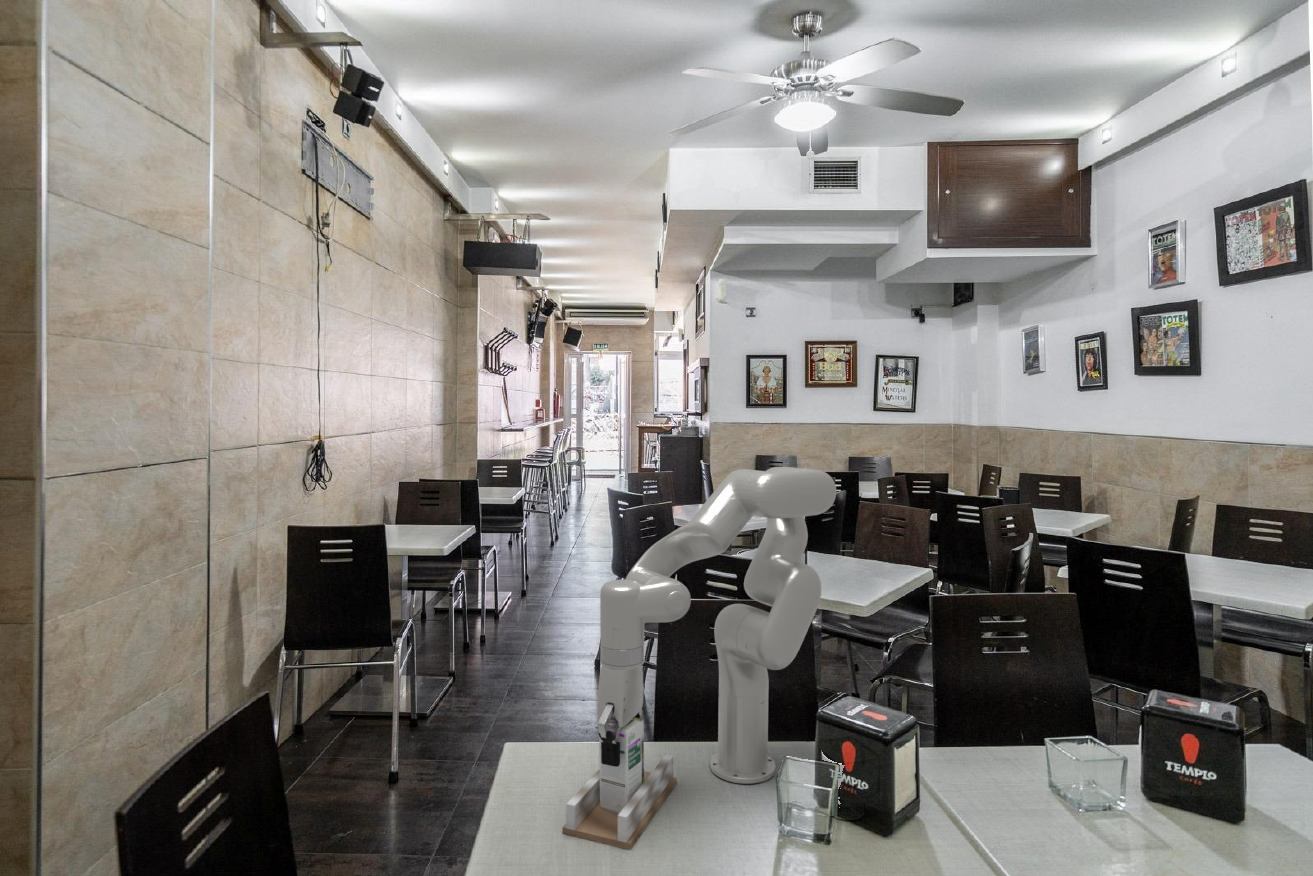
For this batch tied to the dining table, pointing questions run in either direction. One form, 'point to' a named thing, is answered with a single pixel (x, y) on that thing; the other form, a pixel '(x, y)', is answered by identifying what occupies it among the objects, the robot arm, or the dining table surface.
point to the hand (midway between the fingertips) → (622, 751)
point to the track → (633, 818)
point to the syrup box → (623, 768)
